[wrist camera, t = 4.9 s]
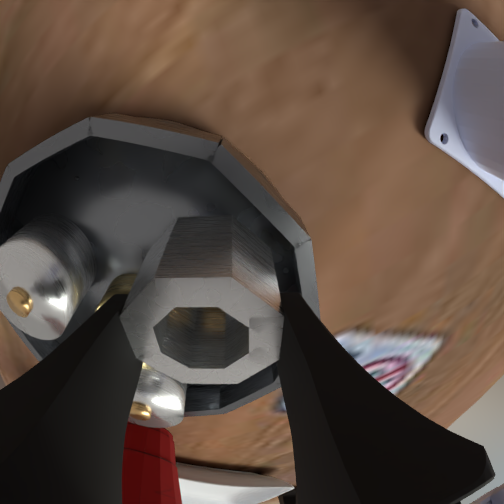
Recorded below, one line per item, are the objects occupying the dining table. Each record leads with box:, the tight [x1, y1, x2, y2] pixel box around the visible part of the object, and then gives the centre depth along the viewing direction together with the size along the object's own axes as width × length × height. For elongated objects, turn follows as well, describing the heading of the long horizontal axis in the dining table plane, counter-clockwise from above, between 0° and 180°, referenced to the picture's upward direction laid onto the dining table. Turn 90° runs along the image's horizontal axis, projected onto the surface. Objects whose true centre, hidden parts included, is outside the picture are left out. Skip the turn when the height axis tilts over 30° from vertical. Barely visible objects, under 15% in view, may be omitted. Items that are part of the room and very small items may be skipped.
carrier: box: [0, 113, 320, 428], centre depth 12 cm, size 16×16×5 cm
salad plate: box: [176, 462, 294, 504], centre depth 30 cm, size 21×21×3 cm
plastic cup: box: [122, 421, 182, 504], centre depth 17 cm, size 11×11×12 cm
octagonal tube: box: [120, 215, 284, 384], centre depth 9 cm, size 4×4×3 cm
